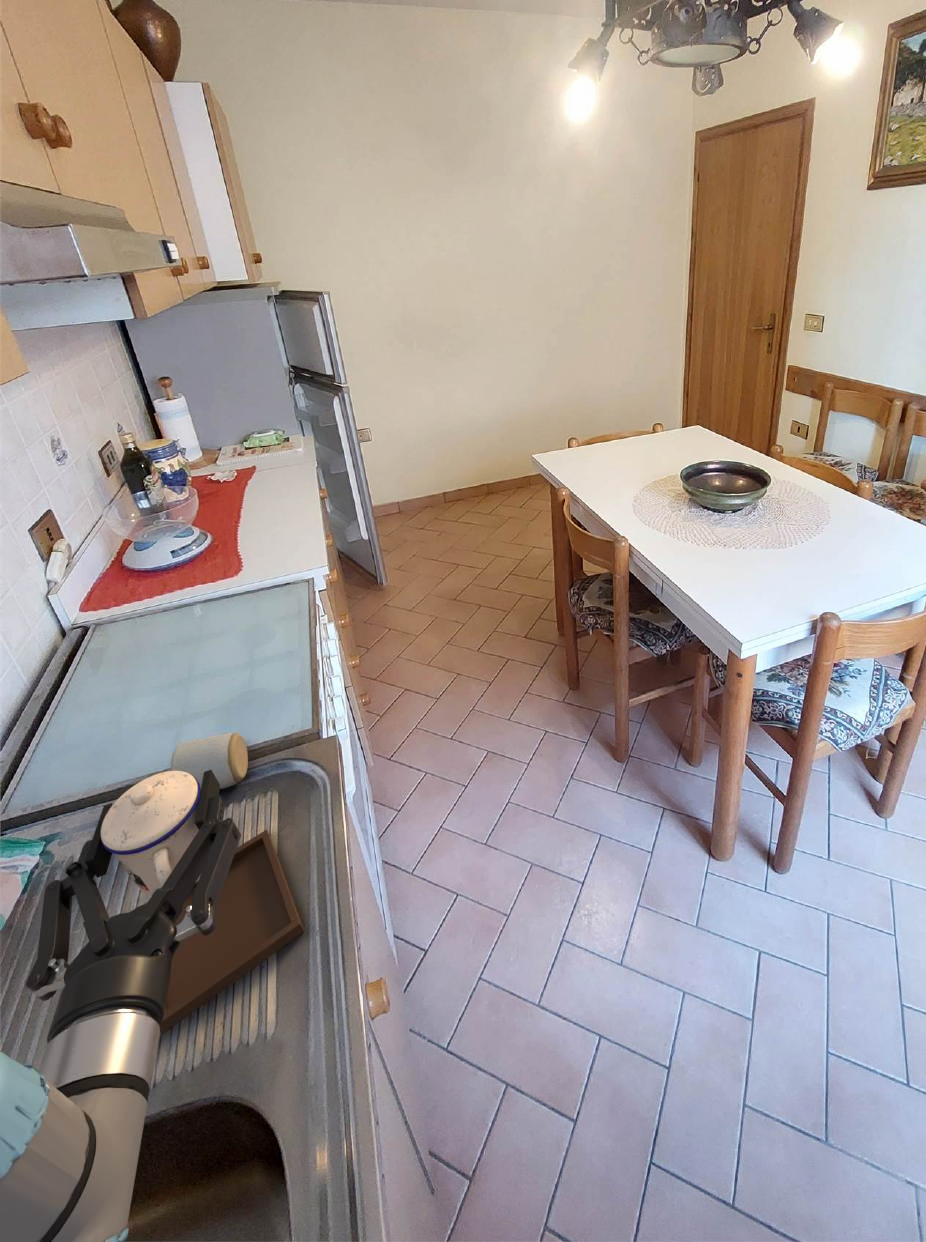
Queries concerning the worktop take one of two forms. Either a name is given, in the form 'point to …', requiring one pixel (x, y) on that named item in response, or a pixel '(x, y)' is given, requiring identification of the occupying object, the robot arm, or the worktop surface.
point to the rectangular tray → (234, 930)
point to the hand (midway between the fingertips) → (163, 795)
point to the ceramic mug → (213, 758)
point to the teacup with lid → (153, 827)
